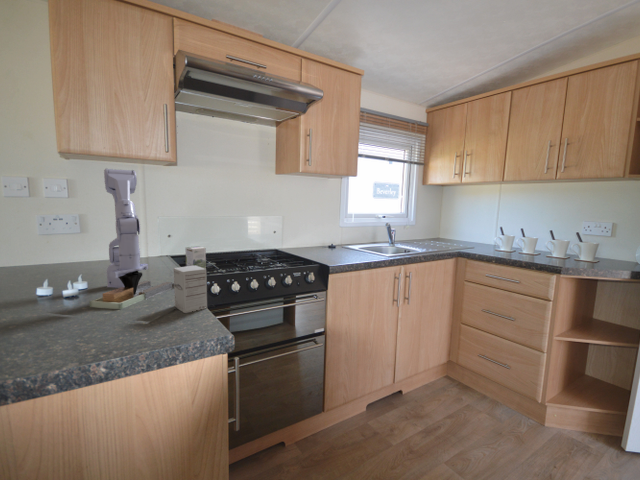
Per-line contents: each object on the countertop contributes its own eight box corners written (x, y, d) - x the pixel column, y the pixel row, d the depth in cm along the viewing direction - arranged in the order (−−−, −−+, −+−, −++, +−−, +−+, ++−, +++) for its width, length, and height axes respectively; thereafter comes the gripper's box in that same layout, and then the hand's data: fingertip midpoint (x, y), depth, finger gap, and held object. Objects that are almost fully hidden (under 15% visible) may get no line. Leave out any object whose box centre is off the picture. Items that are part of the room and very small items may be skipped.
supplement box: (174, 307, 99) (172, 267, 97) (197, 302, 104) (196, 264, 103) (183, 314, 94) (182, 271, 92) (208, 308, 99) (206, 268, 97)
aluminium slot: (114, 298, 107) (114, 290, 107) (144, 287, 121) (143, 280, 120) (146, 300, 105) (146, 292, 105) (173, 289, 119) (172, 282, 119)
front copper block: (103, 306, 98) (102, 293, 97) (113, 302, 102) (113, 290, 101) (114, 307, 97) (114, 294, 97) (124, 303, 101) (124, 290, 100)
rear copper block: (113, 302, 102) (112, 290, 101) (123, 298, 106) (122, 286, 105) (124, 303, 101) (123, 290, 100) (133, 299, 105) (133, 287, 104)
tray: (89, 308, 97) (89, 301, 97) (117, 298, 107) (116, 292, 107) (120, 311, 95) (120, 303, 95) (145, 300, 106) (145, 293, 105)
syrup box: (198, 279, 135) (197, 245, 133) (206, 282, 131) (205, 247, 129) (186, 282, 130) (184, 247, 129) (193, 284, 127) (192, 248, 125)
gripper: (123, 258, 97) (125, 301, 99) (155, 251, 111) (156, 289, 113) (102, 257, 98) (105, 300, 100) (137, 250, 112) (139, 288, 114)
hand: (131, 294), depth 106 cm, fingers closed
